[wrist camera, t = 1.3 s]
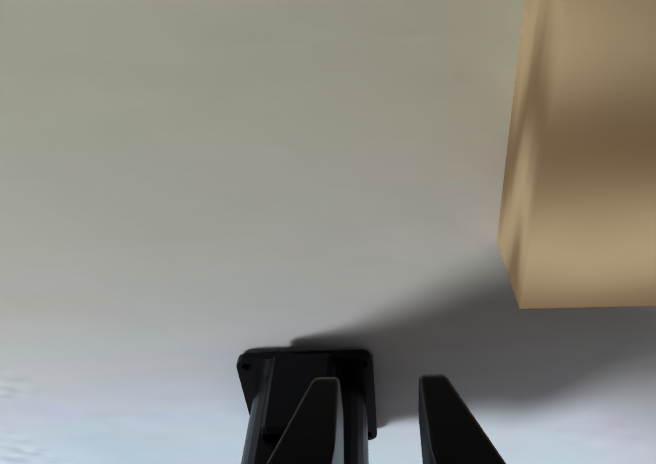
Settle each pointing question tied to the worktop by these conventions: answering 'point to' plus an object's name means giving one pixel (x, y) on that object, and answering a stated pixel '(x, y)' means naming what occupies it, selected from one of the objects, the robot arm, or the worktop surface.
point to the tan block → (582, 157)
